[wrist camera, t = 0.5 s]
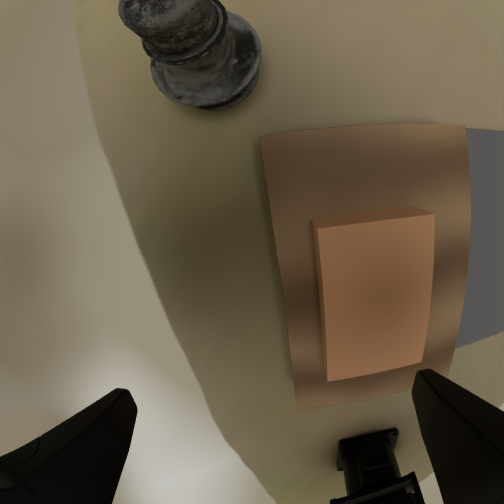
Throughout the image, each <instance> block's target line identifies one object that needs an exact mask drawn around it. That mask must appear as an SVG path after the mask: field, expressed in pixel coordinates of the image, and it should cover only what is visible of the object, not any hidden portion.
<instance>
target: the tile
mask: <svg viewBox="0 0 504 504" xmlns="http://www.w3.org/2000/svg"><path fill="white" fill-rule="evenodd" d="M312 226H313V235H314V244H315V254H316V264H317V275H318V286H319V299H320V312H321V327H322V345H323V362H324V367H325V372H326V377H327V381H335V380H341V379H347V378H352V377H358V376H363V375H368V374H373V373H378V372H382V371H387V370H391V369H396V368H400V367H404V366H408V365H412V364H416V363H420V362H422V357H423V352H424V346H425V340H426V333H427V327H428V319H429V311H430V303H431V293H432V281H433V265H434V235H435V219H434V214H433V213H431V212H429V211H426V210H424V209H421V208H419V207H410V208H401V209H392V210H384V211H375V212H367V213H359V214H351V215H343V216H335V217H327V218H319V219H312Z"/></svg>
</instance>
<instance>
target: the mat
mask: <svg viewBox="0 0 504 504" xmlns="http://www.w3.org/2000/svg"><path fill="white" fill-rule="evenodd" d="M466 136H467V145H468V155H469V167H470V186H471V230H470V250H469V262H468V273H467V282H466V289H465V297H464V303H463V309H462V315H461V321H460V326H459V331H458V336H457V340H456V345H455V348H457V347H461V346H464V345H467V344H470V343H473V342H476V341H478V340H481V339H484V338H487V337H489V336H492V335H495V334H497V333H500V332H503V331H504V131H494V130H481V129H466Z"/></svg>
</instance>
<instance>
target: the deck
mask: <svg viewBox="0 0 504 504" xmlns="http://www.w3.org/2000/svg"><path fill="white" fill-rule="evenodd" d="M259 142H260V148H261V154H262V160H263V166H264V172H265V179H266V185H267V191H268V197H269V204H270V210H271V217H272V223H273V230H274V237H275V243H276V250H277V257H278V264H279V271H280V278H281V285H282V293H283V300H284V307H285V315H286V322H287V330H288V338H289V346H290V354H291V362H292V370H293V379H294V387H295V396H296V405H297V410H304V409H312V408H319V407H326V406H332V405H339V404H344V403H350V402H355V401H361V400H366V399H370V398H375V397H380V396H384V395H388V394H393V393H397V392H401V391H405V390H408V389H412V387H413V383H414V379H415V375H416V372H417V371H418V370H422V369H426V368H430V369H432V370H434V371H436V372H437V373H439V374H441V375H442V376H444V377H446V378H447V376H448V372H449V369H450V365H451V361H452V357H453V353H454V349H455V345H456V340H457V336H458V331H459V326H460V321H461V315H462V309H463V303H464V297H465V289H466V282H467V273H468V262H469V250H470V230H471V186H470V167H469V155H468V145H467V136H466V128H465V125H451V124H381V125H361V126H346V127H333V128H322V129H312V130H303V131H295V132H287V133H279V134H272V135H265V136H259ZM410 207H419V208H421V209H424V210H426V211H429V212H431V213H433V214H434V219H435V235H434V265H433V281H432V293H431V303H430V311H429V319H428V327H427V333H426V340H425V346H424V352H423V357H422V362H420V363H416V364H412V365H408V366H404V367H400V368H396V369H391V370H387V371H382V372H378V373H373V374H368V375H363V376H358V377H352V378H347V379H341V380H335V381H327V377H326V372H325V367H324V362H323V345H322V327H321V312H320V299H319V286H318V275H317V264H316V254H315V244H314V235H313V226H312V219H319V218H327V217H335V216H343V215H351V214H359V213H367V212H375V211H384V210H392V209H401V208H410Z"/></svg>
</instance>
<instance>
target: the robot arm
mask: <svg viewBox="0 0 504 504" xmlns="http://www.w3.org/2000/svg"><path fill="white" fill-rule="evenodd" d="M412 398H413V402H414V406H415V410H416V414H417V418H418V422H419V426H420V431H421V435H422V438H423V441H424V444H425V446H426V449H427V452H428V455H429V458H430V461H431V464H432V467H433V470H434V473H435V476H436V479H437V482H438V485H439V488H440V492H441V496H442V499H443V503H444V504H504V411H502V410H500V409H498V408H497V407H495V406H493V405H492V404H490V403H488V402H486V401H485V400H483V399H481V398H480V397H478V396H476V395H475V394H473V393H471V392H469V391H468V390H466V389H464V388H463V387H461V386H459V385H458V384H456V383H454V382H452V381H451V380H449V379H447V378H446V377H444V376H442V375H441V374H439V373H437V372H436V371H434V370H432V369H430V368H426V369H422V370H418V371H417V372H416V375H415V379H414V383H413V387H412ZM136 417H137V406H136V404H135V402H134V399H133V397H132V395H131V393H130V391H129V390H127V389H121V388H116V389H114V390H113V391H111V392H110V393H108V394H107V395H105V396H104V397H102V398H101V399H99V400H97V401H96V402H94V403H93V404H91V405H90V406H88V407H86V408H85V409H83V410H82V411H80V412H78V413H77V414H75V415H74V416H72V417H71V418H69V419H67V420H66V421H64V422H62V423H61V424H59V425H58V426H56V427H54V428H53V429H51V430H49V431H48V432H46V433H44V434H43V435H41V437H38V438H36V439H35V440H33V441H31V442H29V443H27V444H26V445H24V446H22V447H20V448H18V449H16V450H14V451H12V452H10V453H7V454H5V455H3V456H1V457H0V504H112V502H113V499H114V495H115V492H116V489H117V486H118V483H119V479H120V476H121V473H122V470H123V467H124V464H125V461H126V458H127V455H128V452H129V448H130V444H131V440H132V435H133V430H134V425H135V421H136ZM398 434H399V431H398V429H392V430H388V431H384V432H380V433H375V434H371V435H366V436H362V437H357V438H351V439H346V440H341V441H340V442H339V443H338V457H337V471H344V478H345V484H346V491H347V496H345V497H342V498H338V499H336V498H335V499H331V500H330V504H425V502H424V499H423V496H422V493H421V490H420V487H419V484H418V481H417V478H416V475H415V472H414V471H413V472H411V473H409V474H408V475H406V476H403V477H401V474H400V470H399V467H398V464H397V460H396V457H395V454H394V447H395V444H396V441H397V438H398ZM412 492H414V493H412Z"/></svg>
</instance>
